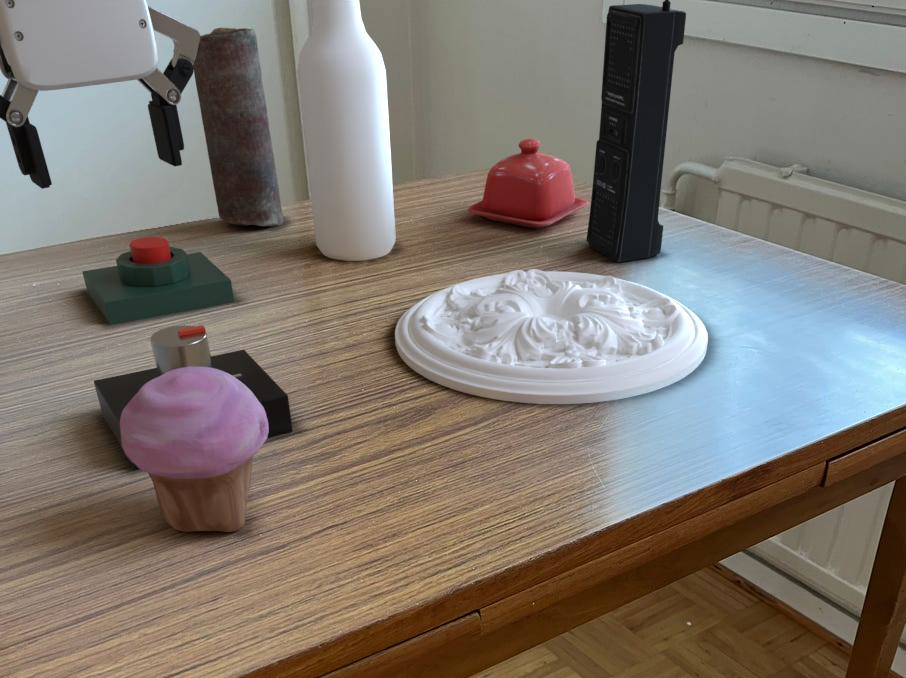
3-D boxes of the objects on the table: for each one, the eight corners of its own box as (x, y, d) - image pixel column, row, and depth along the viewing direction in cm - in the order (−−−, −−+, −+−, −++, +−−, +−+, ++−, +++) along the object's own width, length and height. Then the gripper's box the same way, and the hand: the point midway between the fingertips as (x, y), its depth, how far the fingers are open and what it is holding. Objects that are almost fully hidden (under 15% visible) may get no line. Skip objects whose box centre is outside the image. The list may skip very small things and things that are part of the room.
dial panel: (134, 470, 70) (124, 430, 68) (102, 416, 77) (92, 378, 75) (293, 432, 74) (287, 392, 72) (249, 384, 81) (243, 347, 79)
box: (110, 325, 91) (100, 282, 89) (87, 293, 98) (77, 252, 96) (234, 302, 96) (227, 260, 94) (204, 273, 103) (197, 233, 100)
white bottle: (335, 267, 104) (301, -84, 85) (304, 245, 110) (266, -87, 91) (409, 254, 107) (392, -87, 88) (376, 233, 113) (353, -90, 94)
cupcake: (129, 554, 61) (88, 406, 55) (163, 484, 68) (130, 346, 62) (270, 553, 61) (245, 405, 55) (290, 484, 68) (270, 345, 62)
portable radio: (578, 243, 110) (593, -25, 94) (625, 236, 112) (647, -28, 96) (613, 264, 104) (635, -18, 88) (662, 256, 106) (691, -21, 90)
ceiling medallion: (508, 266, 104) (508, 235, 102) (757, 321, 91) (763, 287, 89) (330, 352, 86) (326, 316, 84) (608, 436, 73) (611, 396, 71)
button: (138, 269, 93) (134, 250, 92) (129, 258, 95) (125, 240, 94) (176, 262, 94) (172, 244, 93) (165, 252, 97) (162, 234, 96)
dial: (169, 402, 71) (157, 346, 69) (155, 382, 74) (142, 327, 72) (223, 391, 73) (212, 335, 70) (206, 371, 76) (196, 317, 73)
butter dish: (545, 236, 112) (548, 155, 106) (462, 221, 117) (460, 143, 111) (593, 212, 119) (597, 135, 114) (512, 198, 124) (513, 124, 119)
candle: (239, 238, 112) (207, 34, 99) (207, 224, 116) (173, 27, 104) (295, 225, 116) (271, 27, 103) (262, 212, 120) (236, 20, 108)
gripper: (149, -125, 68) (199, 147, 78) (-123, -116, 60) (-27, 183, 71) (190, -126, 63) (237, 164, 73) (-101, -117, 55) (-1, 205, 66)
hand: (108, 173), depth 72 cm, fingers open, 9 cm apart
